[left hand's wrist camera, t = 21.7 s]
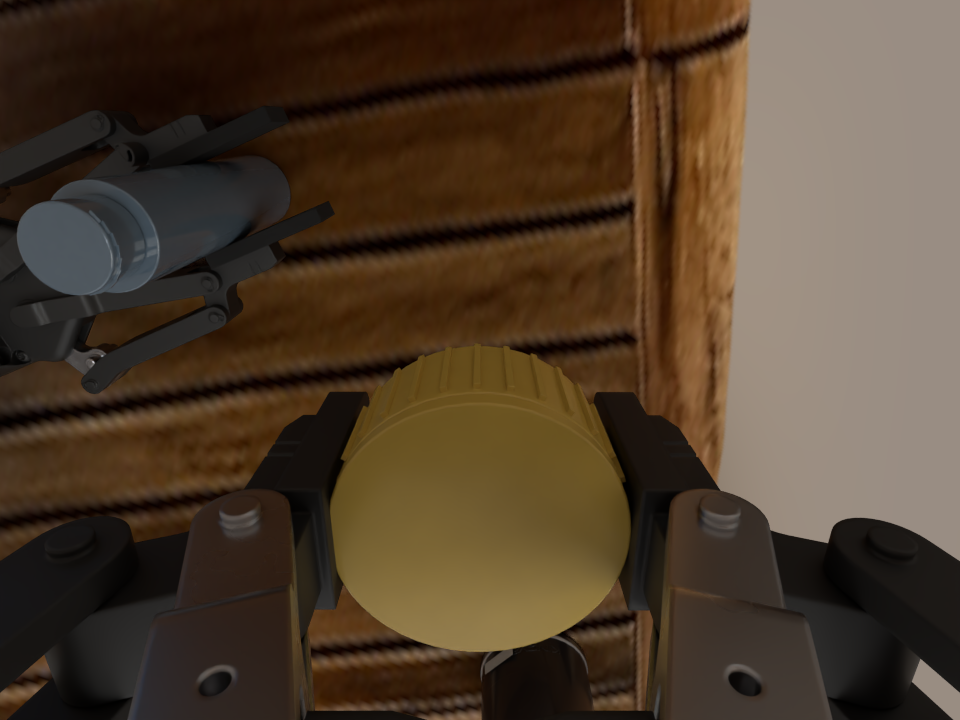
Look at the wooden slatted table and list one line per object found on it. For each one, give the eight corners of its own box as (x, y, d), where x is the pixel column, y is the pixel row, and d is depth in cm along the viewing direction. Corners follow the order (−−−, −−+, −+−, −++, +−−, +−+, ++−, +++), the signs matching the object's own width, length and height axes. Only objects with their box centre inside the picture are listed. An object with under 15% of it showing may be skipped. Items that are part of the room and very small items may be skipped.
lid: (638, 367, 10) (679, 430, 8) (570, 577, 12) (589, 675, 10) (369, 317, 10) (338, 369, 8) (340, 540, 12) (308, 633, 10)
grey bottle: (260, 240, 37) (82, 332, 21) (207, 188, 36) (-24, 244, 20) (305, 194, 36) (152, 256, 20) (251, 139, 35) (44, 156, 19)
